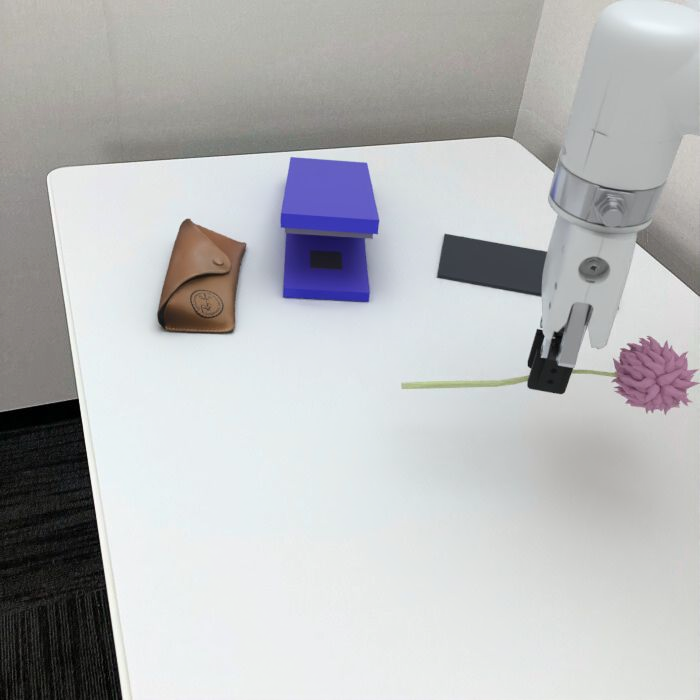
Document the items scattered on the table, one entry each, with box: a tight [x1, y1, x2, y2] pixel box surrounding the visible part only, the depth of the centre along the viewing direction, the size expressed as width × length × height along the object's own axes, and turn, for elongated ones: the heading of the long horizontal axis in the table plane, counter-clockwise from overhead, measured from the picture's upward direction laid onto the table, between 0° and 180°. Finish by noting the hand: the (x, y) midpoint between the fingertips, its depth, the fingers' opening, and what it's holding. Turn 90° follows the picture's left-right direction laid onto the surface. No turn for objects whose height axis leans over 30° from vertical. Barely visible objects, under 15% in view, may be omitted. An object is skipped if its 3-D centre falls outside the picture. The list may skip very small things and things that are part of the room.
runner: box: [436, 233, 620, 310], centre depth 97 cm, size 22×10×1 cm, turn 80°
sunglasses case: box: [156, 218, 247, 334], centre depth 88 cm, size 18×7×7 cm
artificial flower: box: [401, 335, 700, 416], centre depth 66 cm, size 7×7×25 cm
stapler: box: [280, 156, 380, 303], centre depth 97 cm, size 12×28×10 cm, turn 2°
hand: (545, 377), depth 67 cm, fingers closed on artificial flower
